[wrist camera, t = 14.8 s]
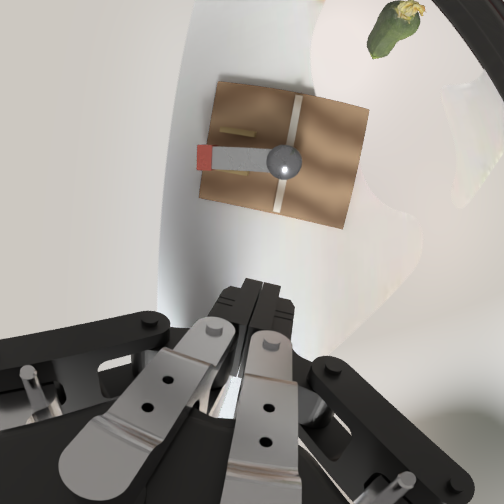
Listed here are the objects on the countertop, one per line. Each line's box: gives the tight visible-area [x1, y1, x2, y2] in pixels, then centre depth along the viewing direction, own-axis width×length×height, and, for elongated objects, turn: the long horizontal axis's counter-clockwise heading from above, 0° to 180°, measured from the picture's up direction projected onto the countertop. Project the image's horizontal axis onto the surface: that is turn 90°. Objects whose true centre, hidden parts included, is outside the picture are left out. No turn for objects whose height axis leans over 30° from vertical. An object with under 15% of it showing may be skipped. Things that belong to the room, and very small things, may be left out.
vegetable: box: [367, 0, 425, 59], centre depth 27 cm, size 4×4×20 cm
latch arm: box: [197, 145, 302, 180], centre depth 41 cm, size 14×4×3 cm, turn 87°
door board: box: [199, 81, 369, 229], centre depth 43 cm, size 18×22×3 cm
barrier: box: [432, 0, 504, 101], centre depth 27 cm, size 24×9×10 cm, turn 39°
